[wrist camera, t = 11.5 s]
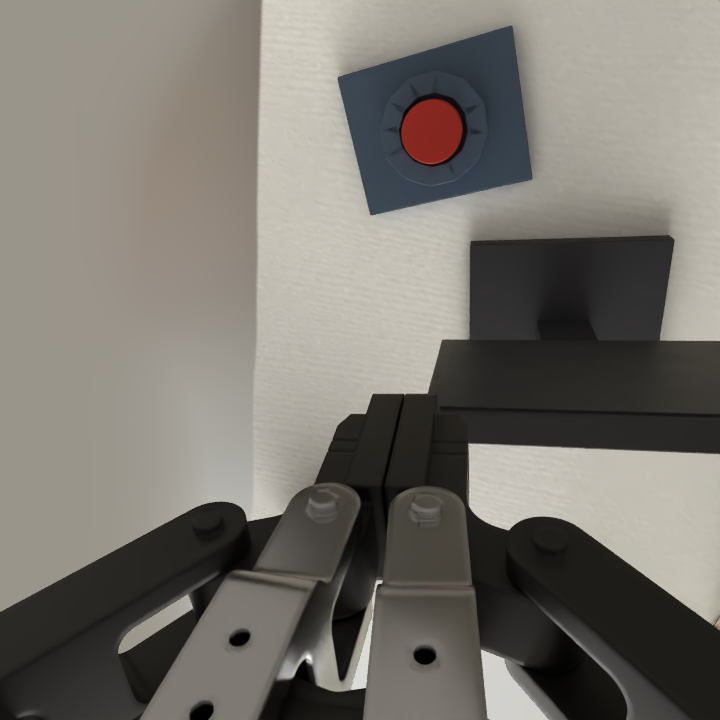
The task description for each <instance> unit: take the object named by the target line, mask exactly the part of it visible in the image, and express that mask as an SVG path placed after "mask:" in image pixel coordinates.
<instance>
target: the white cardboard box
mask: <svg viewBox="0 0 720 720" xmlns="http://www.w3.org/2000/svg"><path fill="white" fill-rule="evenodd" d="M714 627H716V628H717V629H718V630H720V618H719V619H718V621H717V623H716V624H715V626H714Z"/></svg>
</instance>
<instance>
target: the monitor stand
mask: <svg viewBox="0 0 720 720" xmlns="http://www.w3.org/2000/svg"><path fill="white" fill-rule="evenodd" d="M673 247H674V239H673V238H672V237H670V236H669V235H668V236H634V237H600V238H566V239H531V240H497V241H471V244H470V340H611V341H659V338H660V331H661V325H662V318H663V312H664V305H665V299H666V292H667V286H668V279H669V273H670V266H671V260H672V253H673Z"/></svg>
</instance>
